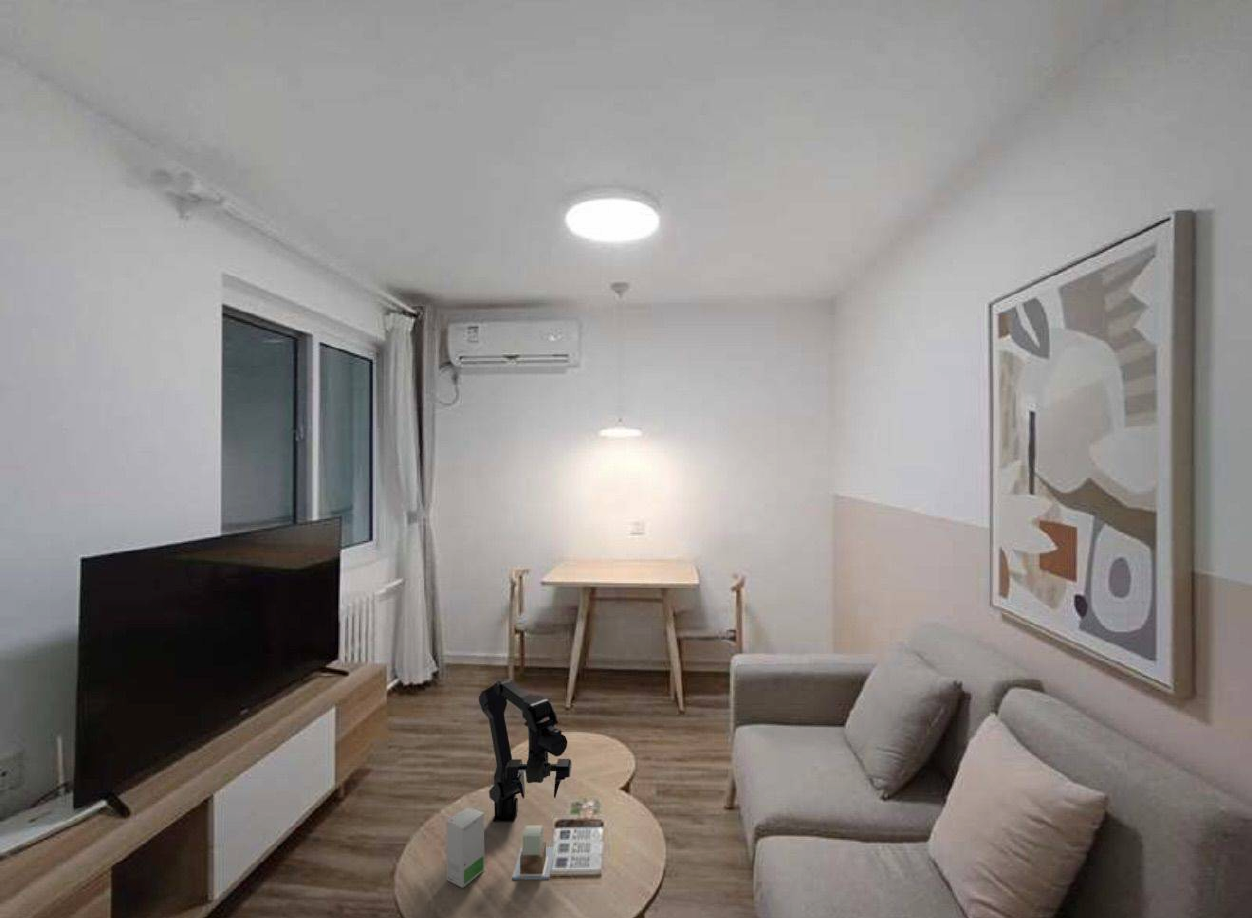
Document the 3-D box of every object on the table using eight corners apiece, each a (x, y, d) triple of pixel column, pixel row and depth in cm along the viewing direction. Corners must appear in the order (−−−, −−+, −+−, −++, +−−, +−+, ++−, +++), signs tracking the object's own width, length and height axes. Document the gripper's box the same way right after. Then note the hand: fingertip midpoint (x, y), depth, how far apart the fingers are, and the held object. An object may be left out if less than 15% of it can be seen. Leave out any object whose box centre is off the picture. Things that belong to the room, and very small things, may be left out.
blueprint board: (512, 879, 151) (511, 876, 151) (520, 849, 163) (520, 846, 163) (549, 879, 151) (549, 876, 151) (555, 848, 163) (555, 846, 163)
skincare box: (462, 889, 148) (461, 828, 148) (444, 879, 151) (444, 821, 151) (485, 869, 155) (485, 812, 155) (469, 861, 158) (468, 804, 158)
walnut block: (520, 873, 152) (519, 856, 152) (524, 858, 158) (524, 842, 158) (542, 873, 152) (542, 856, 152) (546, 858, 158) (545, 842, 158)
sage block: (523, 855, 152) (522, 836, 153) (526, 843, 157) (525, 825, 157) (540, 855, 152) (539, 836, 153) (542, 843, 157) (542, 825, 157)
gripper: (500, 758, 158) (501, 814, 158) (566, 757, 158) (567, 813, 158) (509, 739, 169) (509, 791, 169) (571, 738, 169) (572, 791, 169)
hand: (539, 797), depth 166 cm, fingers open, 9 cm apart
